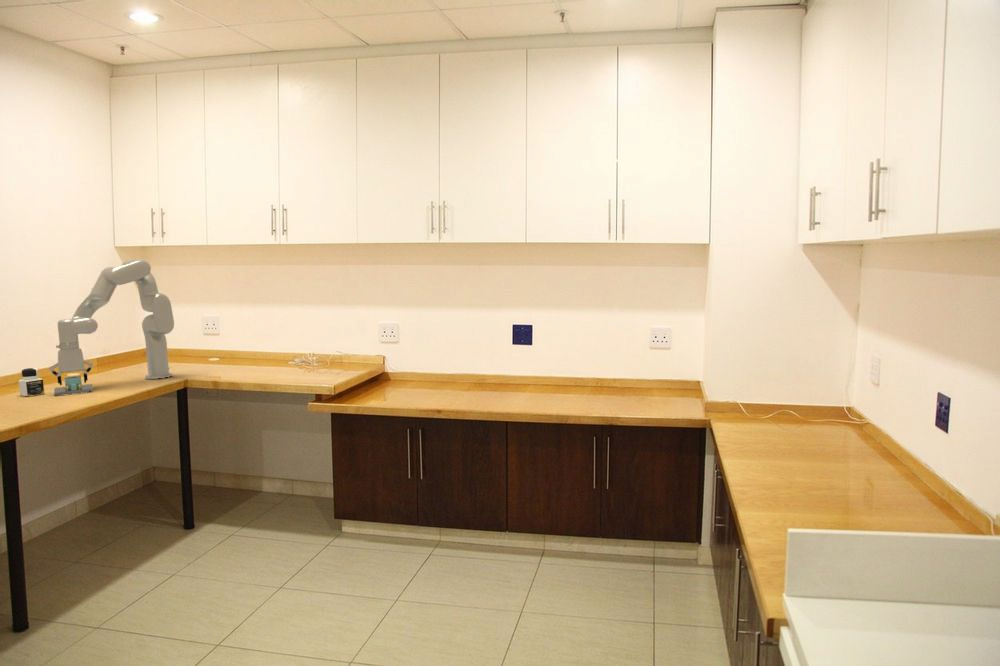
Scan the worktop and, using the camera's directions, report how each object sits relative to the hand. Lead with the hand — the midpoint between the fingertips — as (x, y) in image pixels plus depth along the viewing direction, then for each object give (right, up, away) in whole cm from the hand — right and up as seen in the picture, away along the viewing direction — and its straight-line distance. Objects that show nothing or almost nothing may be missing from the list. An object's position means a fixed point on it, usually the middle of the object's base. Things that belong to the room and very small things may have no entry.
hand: (73, 383), depth 332 cm
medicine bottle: (-15, -5, -5) cm, 17 cm away
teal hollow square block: (+1, -2, -1) cm, 3 cm away
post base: (0, -4, 0) cm, 4 cm away
